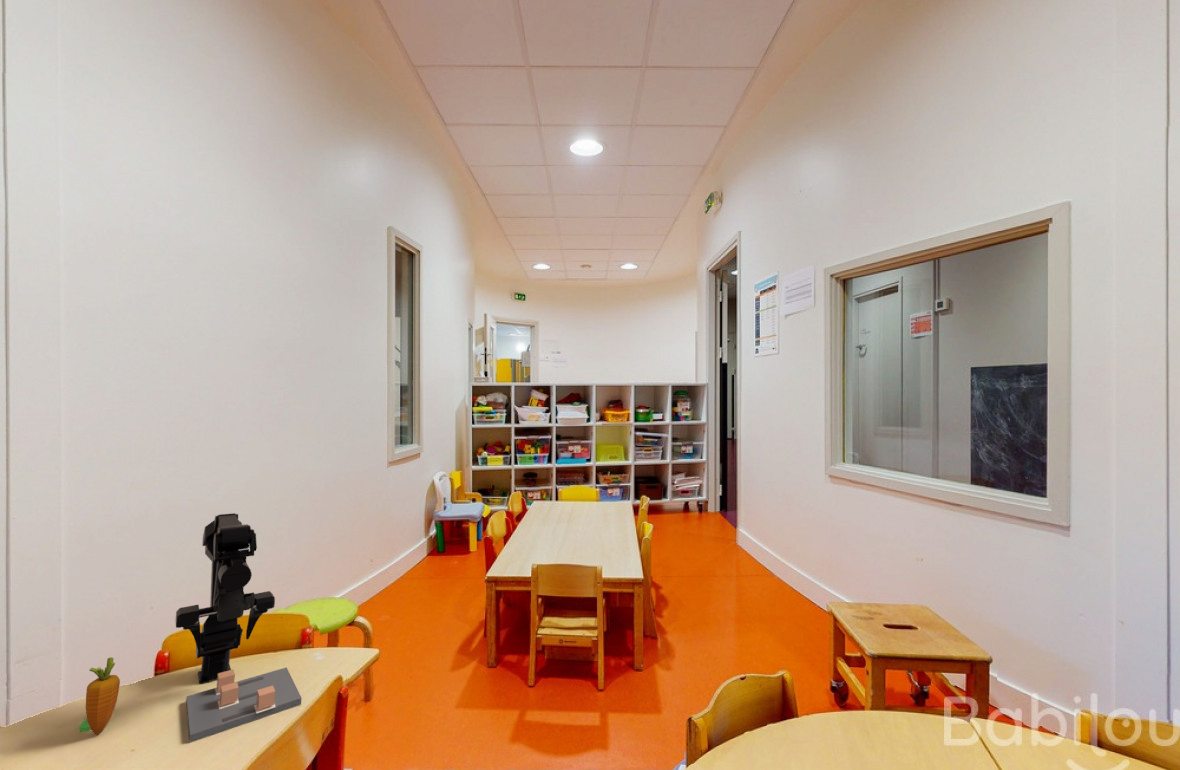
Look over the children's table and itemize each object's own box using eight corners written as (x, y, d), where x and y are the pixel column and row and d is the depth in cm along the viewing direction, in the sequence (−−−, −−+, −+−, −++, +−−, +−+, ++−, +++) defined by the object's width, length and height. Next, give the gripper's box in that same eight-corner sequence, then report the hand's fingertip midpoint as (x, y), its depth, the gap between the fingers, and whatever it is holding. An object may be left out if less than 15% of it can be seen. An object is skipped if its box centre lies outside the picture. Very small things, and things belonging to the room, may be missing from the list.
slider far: (216, 686, 111) (217, 673, 111) (232, 681, 113) (233, 669, 113) (217, 692, 109) (219, 678, 109) (233, 687, 111) (234, 674, 111)
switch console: (185, 702, 108) (186, 695, 108) (286, 673, 121) (286, 666, 121) (189, 743, 95) (190, 735, 95) (301, 705, 108) (301, 697, 108)
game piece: (103, 727, 98) (107, 698, 99) (74, 734, 96) (78, 704, 97) (110, 716, 102) (114, 688, 103) (83, 722, 100) (86, 693, 100)
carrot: (91, 744, 93) (100, 668, 94) (73, 740, 94) (82, 664, 96) (121, 729, 98) (129, 656, 99) (103, 725, 99) (111, 653, 100)
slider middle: (219, 699, 106) (220, 686, 106) (235, 694, 108) (237, 681, 108) (220, 705, 104) (222, 692, 104) (237, 700, 106) (238, 687, 106)
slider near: (256, 703, 105) (257, 690, 105) (271, 698, 107) (272, 685, 107) (258, 710, 103) (259, 696, 103) (274, 704, 105) (275, 691, 105)
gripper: (180, 597, 101) (173, 671, 99) (281, 579, 113) (275, 645, 112) (179, 583, 109) (172, 651, 107) (273, 568, 121) (267, 629, 120)
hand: (223, 644), depth 112 cm, fingers open, 9 cm apart
